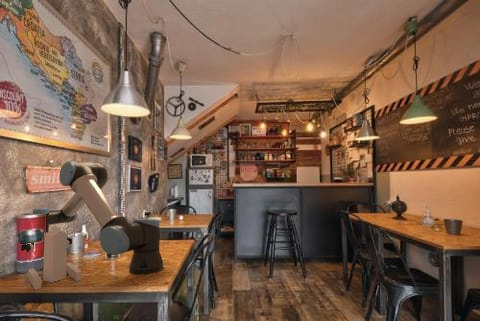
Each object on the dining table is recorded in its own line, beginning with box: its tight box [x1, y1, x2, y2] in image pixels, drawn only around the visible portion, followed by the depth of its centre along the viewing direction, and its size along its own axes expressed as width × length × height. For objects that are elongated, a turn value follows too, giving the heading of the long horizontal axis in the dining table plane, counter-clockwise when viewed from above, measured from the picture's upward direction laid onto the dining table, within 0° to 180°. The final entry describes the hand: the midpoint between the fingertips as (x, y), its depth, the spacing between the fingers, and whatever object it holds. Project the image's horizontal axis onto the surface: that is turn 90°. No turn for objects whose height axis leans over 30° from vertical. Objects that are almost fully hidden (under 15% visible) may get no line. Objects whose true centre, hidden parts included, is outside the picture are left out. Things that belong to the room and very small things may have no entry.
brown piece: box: [27, 261, 82, 291], centre depth 125 cm, size 20×16×4 cm
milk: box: [42, 225, 68, 283], centre depth 125 cm, size 6×6×22 cm
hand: (51, 246), depth 132 cm, fingers open, 13 cm apart
